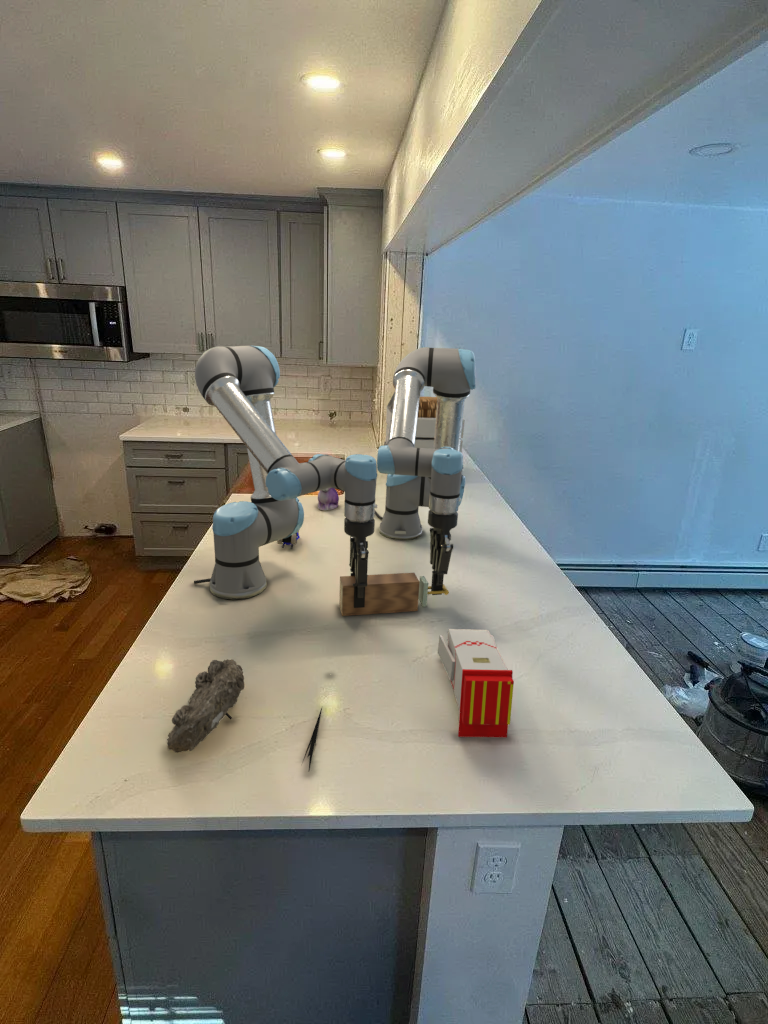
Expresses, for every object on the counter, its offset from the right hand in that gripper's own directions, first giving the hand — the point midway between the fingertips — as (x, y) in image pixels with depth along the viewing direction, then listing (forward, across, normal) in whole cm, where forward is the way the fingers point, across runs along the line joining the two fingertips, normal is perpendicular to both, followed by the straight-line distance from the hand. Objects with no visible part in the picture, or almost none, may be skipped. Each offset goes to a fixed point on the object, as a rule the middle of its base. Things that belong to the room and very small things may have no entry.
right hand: (436, 593), depth 152 cm
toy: (+4, -37, +4) cm, 37 cm away
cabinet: (+3, 0, +16) cm, 16 cm away
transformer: (+3, +126, -30) cm, 130 cm away
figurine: (+3, +81, +20) cm, 83 cm away
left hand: (+1, 0, +22) cm, 22 cm away
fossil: (+4, -36, +55) cm, 66 cm away
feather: (+4, -40, +35) cm, 54 cm away
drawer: (+3, 0, +10) cm, 10 cm away
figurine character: (+3, +47, +36) cm, 59 cm away
